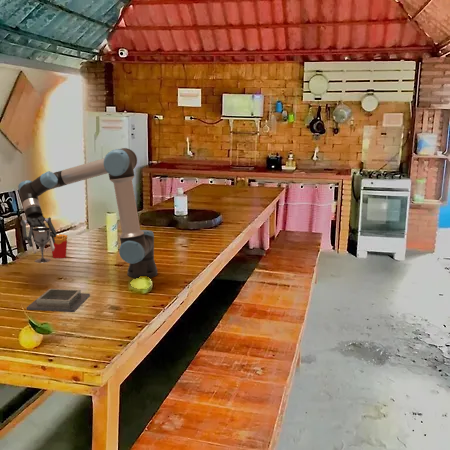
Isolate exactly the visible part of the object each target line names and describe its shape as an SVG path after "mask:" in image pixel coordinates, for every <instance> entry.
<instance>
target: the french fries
mask: <svg viewBox="0 0 450 450" xmlns="http://www.w3.org/2000/svg"><path fill="white" fill-rule="evenodd" d="M54 240H55V243H54V247H55V249H54V251H52V250H51V251H52V252H51V254H52V258H53V259H64V258H65V259H66V257H67V246H68V245H67V244H68V235H66V234H65V233H64V234H63V233H62V234H61V233H60V234H57V235H56V237H54Z"/></svg>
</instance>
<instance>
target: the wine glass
mask: <svg viewBox="0 0 450 450" xmlns="http://www.w3.org/2000/svg"><path fill="white" fill-rule="evenodd" d="M31 237H32V238H33V240H34V243H35V245H37V246H38V248H39V249H40V253H41V257H40V258H37V259H35V260H34V263H39V264H41V263H42V264H43V263H49V262H51V261H52V260H51V259H50V258H47V257H44V249H45V247H46V246H47V244H48V243H49V240H50V228H49V226H46V227H35V228H34V227H33V229H32V236H31Z"/></svg>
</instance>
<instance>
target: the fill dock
mask: <svg viewBox="0 0 450 450" xmlns="http://www.w3.org/2000/svg"><path fill="white" fill-rule="evenodd" d="M90 296H91V294H90V293H89V292H88V293H86V292H85V293H84V292H82V290H81V289H68V288H67V289H63V288H49V289H47V290H46V291H45V292H43V294H41V295H40V296H38V298H36V299H35V300H34V301H33V302H31V303H30V304H29V305H27V306H26V310H27V311H44V312H45V311H46V312H47V311H48V312H49V311H50V312H68V313H75V311H76V310H78V308H80V307H81V305H83V303H84V302H85V301H87V299H88V298H89V297H90Z"/></svg>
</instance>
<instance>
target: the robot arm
mask: <svg viewBox="0 0 450 450" xmlns="http://www.w3.org/2000/svg"><path fill="white" fill-rule="evenodd" d="M137 164H138V156H137V154H136V153H135V152H134V150H132V149H130V148H127V147H121V148H115V149H112V150H110V151H109V152H108V153H107V154H106V155H105V157H104V158H100V159H96V160H93V161H90V162H87V163H83V164H78V165H77V166H73V167H70V168H65V169H63V170H58V171H55V172H52V171H49V170H48V171H45V172H44V173H42V174H41V175H39V176H38V177H37V178H35V179H34V180H27V179H26V180H22V181H21V182H19V183H18V185H17V189H18V194H19V197H20V199H21V203H22V207H23V211H24V215H25V219H21V220H20V226H21V230H22V239H23V241H27V243H28V245H29V247H30V248H32V249H31V250H32V252H33V254H36V253H37V247H36V243H35V242H34V240H33V236H32V229H33V228H38V227H48V228H50V240H49V242H48V243H49V246H50V249H51V251H54V249H55V247H54V243H55V240H54V237H56V235H58V233H57V231H56V229H55V227H54V225H53V223H52V217H50V216H49V217H48V218H46V217H44V214H43V211H42V208H41V207H42V206H41V204H40V200H39V196H42V195H43V194H45V193H46V192H47V191H50V190H53V189H57V188H60V187H64V186H67V185H71V184H74V183H78V182H82V181H85V180H88V179H91V178H95V177H96V178H97V177H98V176H103V175H107V174H108V177H109V181H110V182H111V183H112V184H113V187H114V193H115V199H116V204H117V209H118V216H119V221H120V227H121V233H120V235H119V240H120V246H119V248H118V252H119V253H118V254H119V257H120V258H121V259H122V260H123V261H124V262H125V263H127V264H129V265H128V268H127V276H128V277H130V278H134V279H138V278H137V277H140V276H147V277H150V278H149V279H151V278H153V277H156V276H158V268H157V264H156V262H155V233H154V232H153V231H152V230H147V229H141V227H140V221H139V214H138V209H137V203H136V195H135V191H134V186H133V185H134V184H133V179H134V178H135V172H134V169H135V168H136V166H137ZM45 223H46V224H47V225H46V224H45ZM27 224H28V225H29V226H30V227H29V233H27ZM27 234H28V236H27Z"/></svg>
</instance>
